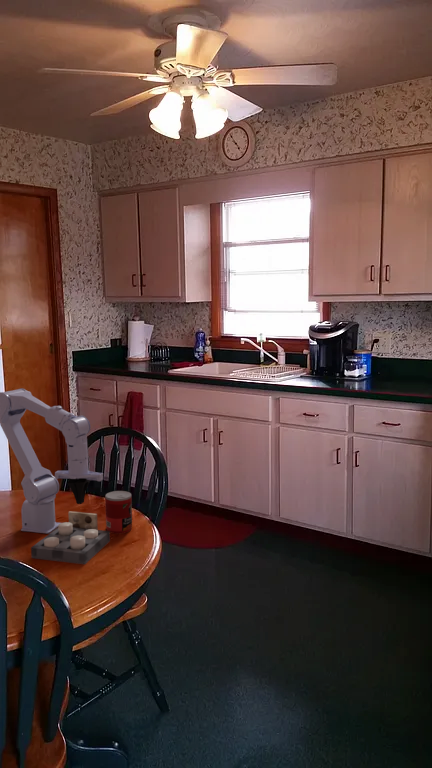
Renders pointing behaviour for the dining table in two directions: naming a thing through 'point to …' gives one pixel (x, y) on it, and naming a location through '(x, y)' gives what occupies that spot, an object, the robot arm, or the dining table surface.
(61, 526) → the button far left
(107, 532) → the button board
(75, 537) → the button near right
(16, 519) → the dining table surface
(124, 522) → the canned food
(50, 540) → the button near left
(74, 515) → the pattern plaque
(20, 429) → the robot arm
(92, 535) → the button far right
